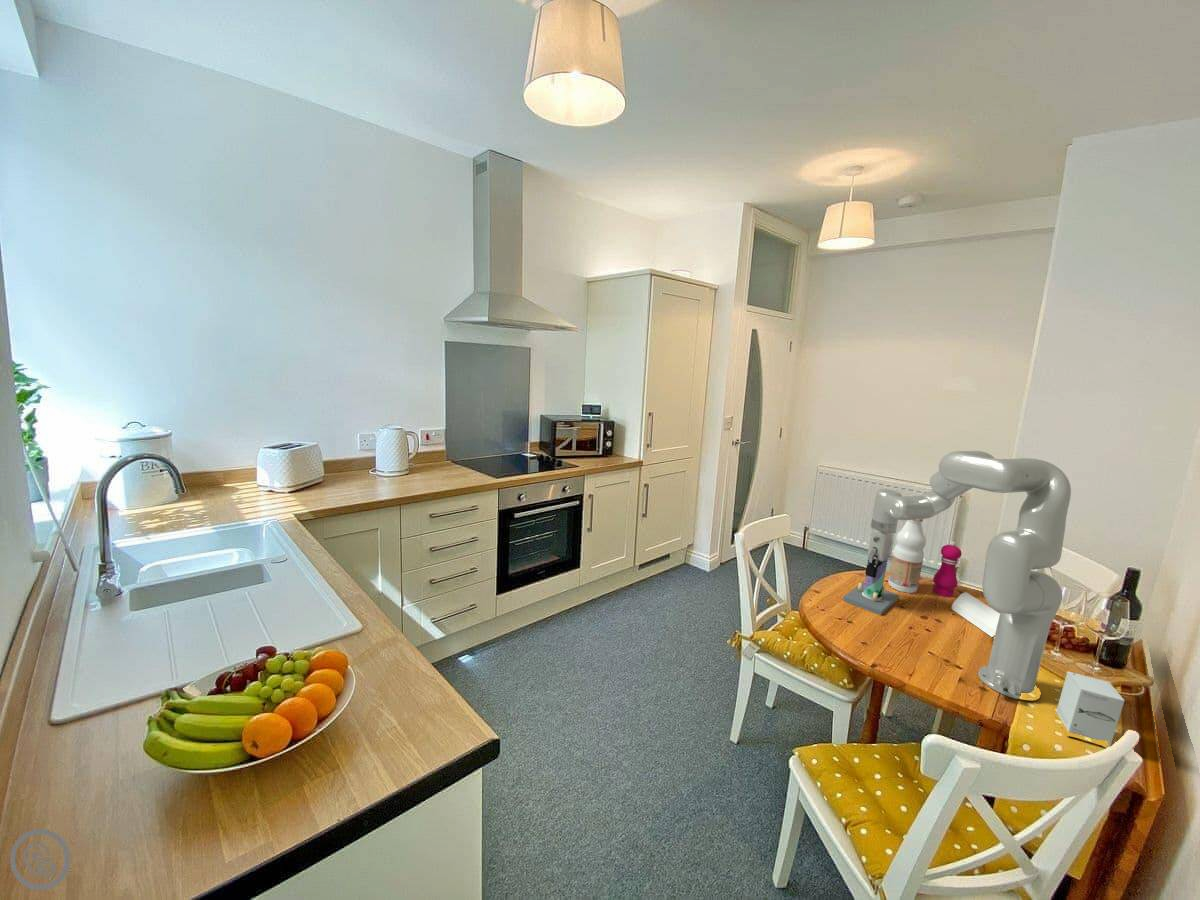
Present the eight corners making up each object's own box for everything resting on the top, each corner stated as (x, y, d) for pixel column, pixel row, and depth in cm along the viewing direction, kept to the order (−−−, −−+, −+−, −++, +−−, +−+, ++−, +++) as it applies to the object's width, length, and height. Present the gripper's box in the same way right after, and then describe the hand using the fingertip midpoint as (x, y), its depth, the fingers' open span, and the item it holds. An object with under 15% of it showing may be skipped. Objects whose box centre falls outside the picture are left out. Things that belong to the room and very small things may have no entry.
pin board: (880, 615, 156) (882, 602, 155) (842, 600, 164) (844, 588, 163) (898, 598, 168) (900, 586, 167) (862, 585, 176) (864, 574, 175)
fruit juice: (887, 588, 175) (900, 516, 169) (887, 579, 183) (899, 510, 177) (917, 596, 170) (931, 522, 164) (916, 586, 178) (930, 515, 172)
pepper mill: (959, 598, 169) (970, 546, 165) (936, 596, 171) (947, 544, 167) (948, 589, 176) (959, 539, 172) (927, 586, 178) (937, 536, 174)
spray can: (859, 593, 167) (868, 540, 163) (869, 590, 169) (878, 538, 165) (874, 600, 162) (883, 545, 158) (884, 597, 164) (893, 543, 160)
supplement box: (1066, 737, 107) (1079, 688, 104) (1053, 716, 113) (1066, 669, 111) (1110, 751, 103) (1126, 700, 101) (1095, 728, 110) (1109, 680, 107)
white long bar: (943, 597, 162) (1003, 638, 139) (962, 587, 162) (1026, 627, 138) (950, 614, 164) (1010, 657, 140) (969, 605, 163) (1033, 647, 140)
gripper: (887, 534, 152) (878, 583, 155) (904, 523, 164) (895, 569, 167) (862, 527, 158) (854, 575, 161) (880, 517, 169) (872, 562, 172)
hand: (875, 572), depth 164 cm, fingers open, 9 cm apart
